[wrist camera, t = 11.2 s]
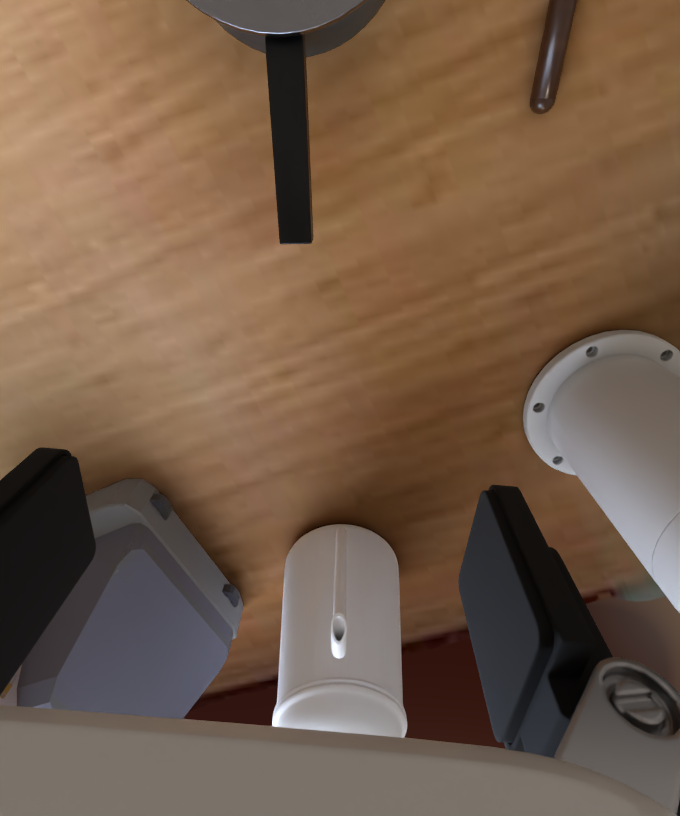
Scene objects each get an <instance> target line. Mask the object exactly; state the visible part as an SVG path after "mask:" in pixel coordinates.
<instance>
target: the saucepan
mask: <svg viewBox="0 0 680 816" xmlns="http://www.w3.org/2000/svg"><path fill="white" fill-rule="evenodd" d="M186 1H187V2H189V3H190V4H191V5H193V6H194V7H195V8H197V9H198V10H199V11H201V12H202V13H204V14H205V15H207V16H209V17H211V18H212V19H214V20H216V21H217V22H218V23H219V24H220V25H221V26H222V27H223V28H224V29H225V30H226V31H227V32H228V33H230V34H231V35H232V36H234V37H235V38H236V39H238V40H239V41H241V42H242V43H244V44H246V45H248V46H250V47H251V48H253V49H256V50H258V51H261V52H264V53H266V60H267V74H268V88H269V102H270V115H271V129H272V143H273V157H274V170H275V184H276V198H277V212H278V226H279V239H280V244H311V243H312V241H313V217H312V193H311V169H310V144H309V120H308V95H307V71H306V57H310V56H314V55H318V54H322V53H325V52H327V51H330V50H332V49H334V48H336V47H338V46H340V45H342V44H343V43H345V42H346V41H348V40H349V39H351V38H352V37H353V36H355V35H356V34H357V33H358V32H359V31H360V30H362V29H363V28H364V27H365V26H366V25H367V23H368V22H369V21H370V20H371V19H372V18H373V17H374V16H375V15H376V13H377V12H378V10H379V9H380V7H381V6H382V4H383V3H384V1H385V0H186Z"/></svg>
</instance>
